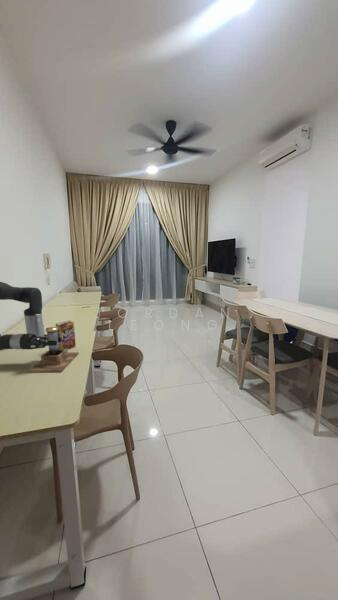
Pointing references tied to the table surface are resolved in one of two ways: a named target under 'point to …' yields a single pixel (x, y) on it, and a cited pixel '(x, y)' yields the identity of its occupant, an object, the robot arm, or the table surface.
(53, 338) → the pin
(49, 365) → the socket block
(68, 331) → the candy box
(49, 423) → the table surface
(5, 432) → the table surface
